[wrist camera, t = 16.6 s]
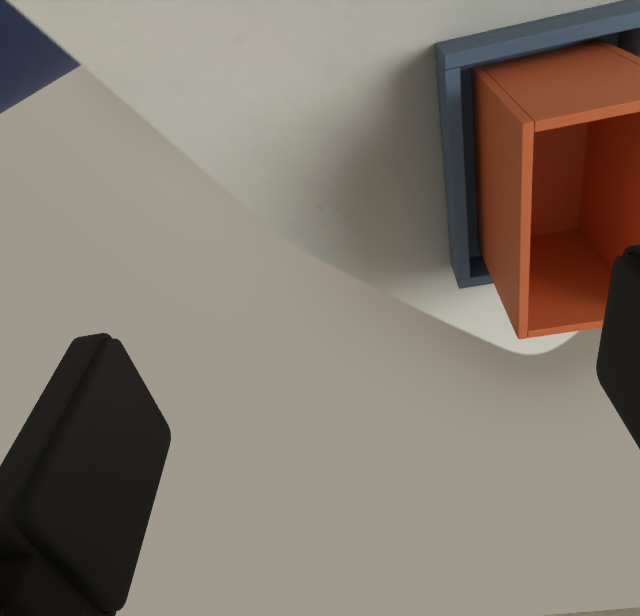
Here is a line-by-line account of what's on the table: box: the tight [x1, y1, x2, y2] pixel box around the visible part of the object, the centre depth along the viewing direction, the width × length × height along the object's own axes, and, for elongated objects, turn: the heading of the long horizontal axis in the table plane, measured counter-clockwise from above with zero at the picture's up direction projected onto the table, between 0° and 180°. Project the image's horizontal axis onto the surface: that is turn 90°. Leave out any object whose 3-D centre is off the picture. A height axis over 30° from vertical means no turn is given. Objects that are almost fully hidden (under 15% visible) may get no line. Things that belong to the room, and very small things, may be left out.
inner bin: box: [471, 39, 640, 339], centre depth 29 cm, size 12×7×10 cm, turn 12°
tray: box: [435, 0, 640, 289], centre depth 32 cm, size 15×11×3 cm
